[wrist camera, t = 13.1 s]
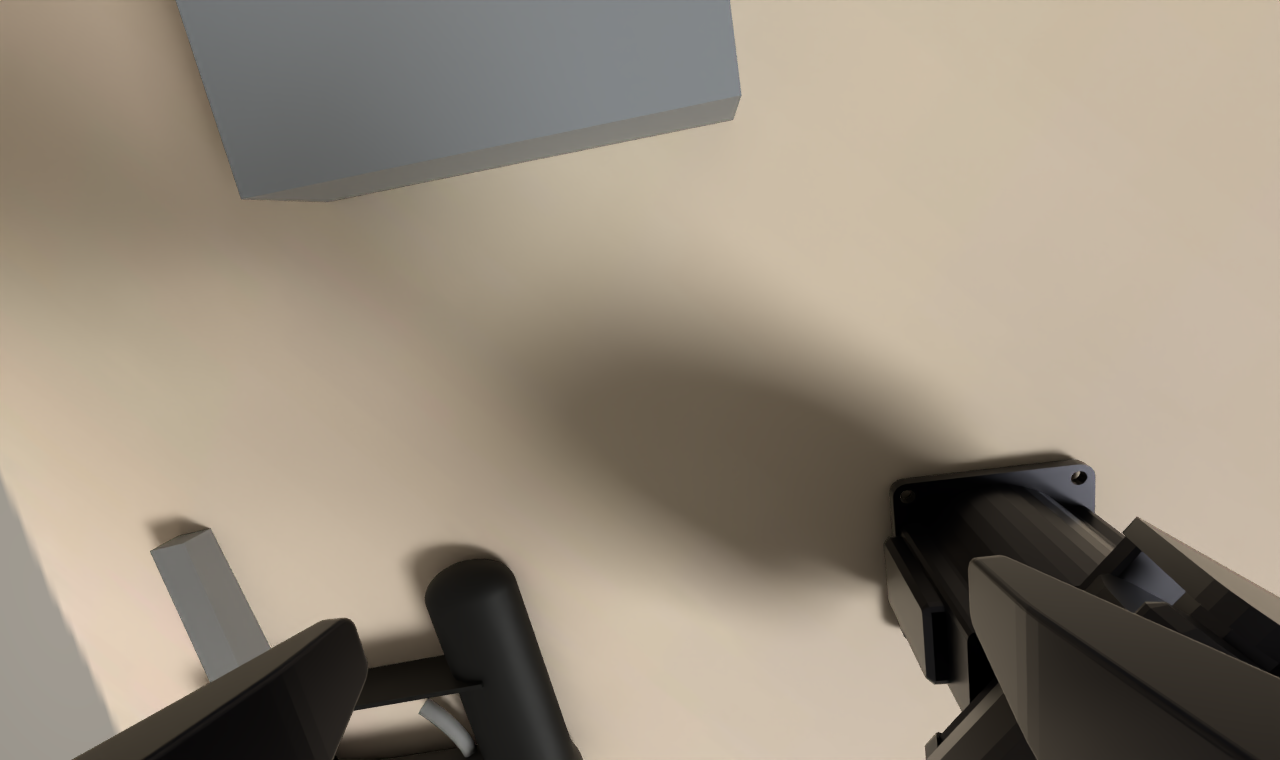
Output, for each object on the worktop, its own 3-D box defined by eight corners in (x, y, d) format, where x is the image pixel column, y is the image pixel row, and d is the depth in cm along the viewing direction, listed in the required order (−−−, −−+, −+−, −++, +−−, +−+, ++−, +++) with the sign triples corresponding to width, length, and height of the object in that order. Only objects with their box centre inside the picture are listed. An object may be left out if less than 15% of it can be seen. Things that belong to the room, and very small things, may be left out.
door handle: (12, 588, 24) (173, 905, 27) (463, 483, 21) (593, 856, 24) (94, 549, 27) (230, 835, 30) (496, 452, 24) (607, 783, 27)
